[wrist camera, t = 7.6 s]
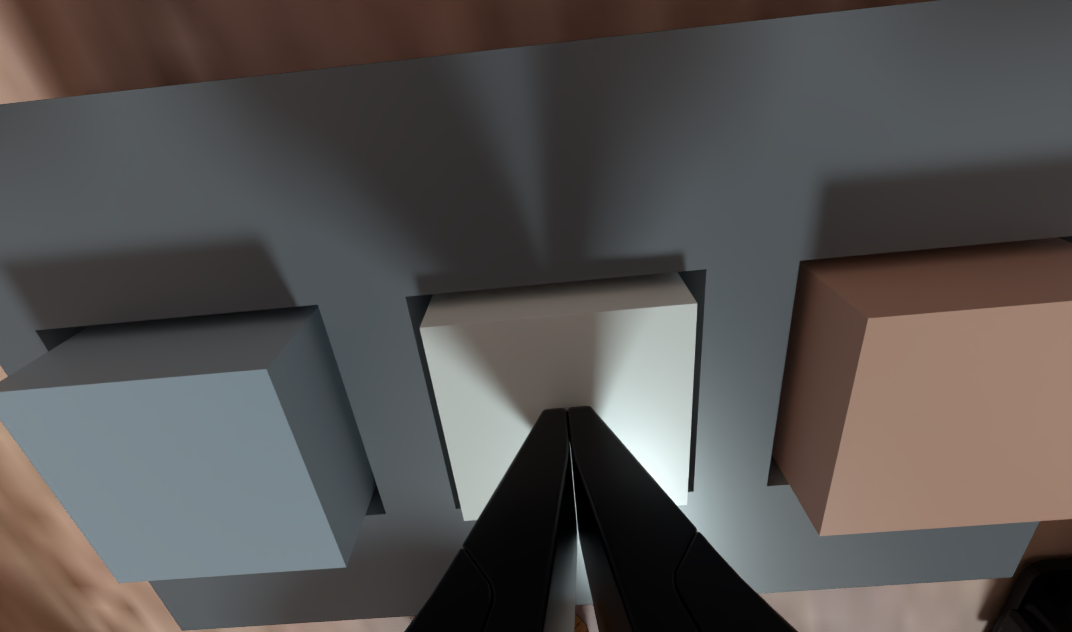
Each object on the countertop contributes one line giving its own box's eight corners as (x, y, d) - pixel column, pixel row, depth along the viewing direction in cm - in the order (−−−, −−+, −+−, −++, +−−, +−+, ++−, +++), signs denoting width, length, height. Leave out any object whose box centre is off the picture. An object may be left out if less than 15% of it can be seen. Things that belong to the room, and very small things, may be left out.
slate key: (351, 266, 11) (266, 369, 8) (397, 426, 13) (346, 566, 10) (154, 284, 11) (-20, 393, 8) (229, 440, 13) (118, 582, 10)
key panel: (1022, -8, 10) (1321, -42, 7) (892, 444, 16) (1012, 577, 12) (80, 96, 11) (-165, 122, 7) (265, 492, 17) (181, 630, 13)
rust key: (976, 208, 11) (1201, 290, 7) (922, 385, 13) (1076, 518, 9) (757, 228, 11) (868, 318, 7) (739, 400, 13) (819, 536, 9)
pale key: (647, 225, 12) (697, 303, 8) (647, 385, 14) (687, 505, 10) (454, 243, 12) (419, 327, 8) (482, 399, 14) (464, 521, 10)
